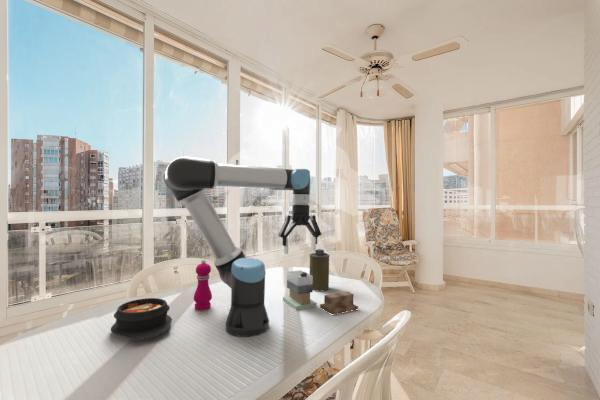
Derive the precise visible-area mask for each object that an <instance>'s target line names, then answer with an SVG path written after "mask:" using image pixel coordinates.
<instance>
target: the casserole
mask: <svg viewBox="0 0 600 400" xmlns="http://www.w3.org/2000/svg"><path fill="white" fill-rule="evenodd" d="M170 307H171V306H169V305H168V302H167V301H166V300H165V299H162V298H155V297H153V298H152V297H150V298H149V297H148V298H140V299H134V300H130V301H128V302H125V303H122V304H120V305H119V306H118V307H117V310H116V311H115V313H114V314H113V318H115V323H113V325H112V326H111V327H110V332H111V333H112V334H113V335H117V336H122V337H125V338H128V339H131V340H135V341H137V340H143V339H150V338H153V337H156V336H159V335H162V334H164V333H167V332H168V331H169V330H170V329H171V323H172V321H173V319H172V317H171V316H170V315H168V312H169V310H170V309H171V308H170Z"/></svg>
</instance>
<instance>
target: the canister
mask: <svg viewBox="0 0 600 400" xmlns="http://www.w3.org/2000/svg"><path fill="white" fill-rule="evenodd" d="M309 274H310V275H312V276H313V290H318V291H317V292H322V291H321V290H326V291H328V290H329V289H330V284H329V283H330V254H328V253H327V252H325V250H324V249H321V248H318V249H316V252H313V253H310V254H309ZM328 288H329V289H328ZM327 289H328V290H327Z"/></svg>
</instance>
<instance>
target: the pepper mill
mask: <svg viewBox="0 0 600 400" xmlns="http://www.w3.org/2000/svg"><path fill="white" fill-rule="evenodd" d="M206 262H207V261H206V260H205V259H202V260H201V263H199V264H197V266H196V267H195V273H196V274H197V275H196V279H197V285H196V286H197V287H196V289H195V291H194V294H193V301H194V302H195V303H194V309H195V310H196V311H207V310H209V309H211V307H212V305H211V300H212V298H213V294H212V291H211V289H210V285H209V279H210V278H211V277H210V273H211V271H212V268H211V265H210V264H209V263H206Z"/></svg>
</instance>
